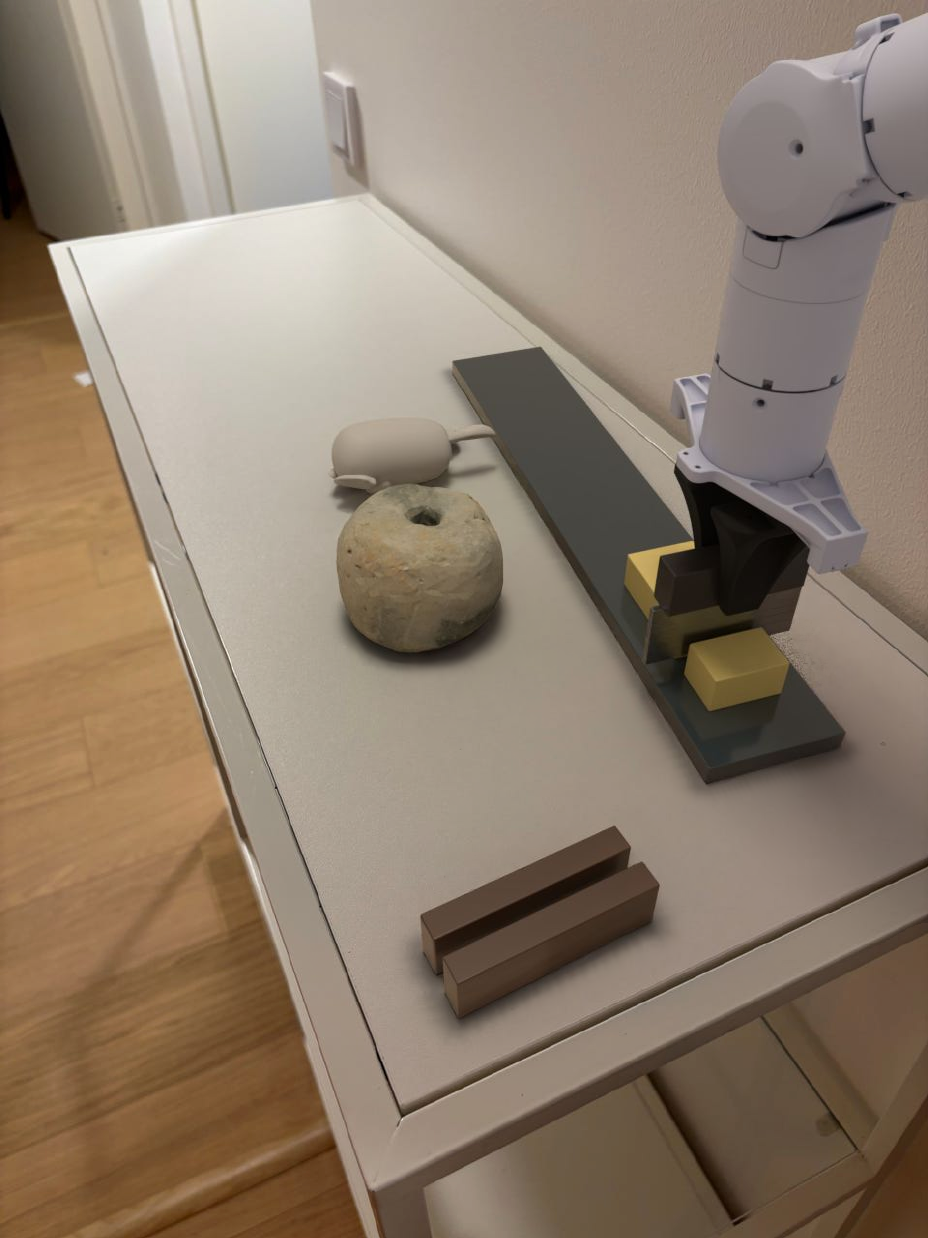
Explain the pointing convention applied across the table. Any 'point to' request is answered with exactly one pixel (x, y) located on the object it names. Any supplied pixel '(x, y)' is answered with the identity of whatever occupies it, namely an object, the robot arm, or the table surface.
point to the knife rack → (537, 919)
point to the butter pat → (736, 668)
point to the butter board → (626, 555)
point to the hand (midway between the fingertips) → (728, 594)
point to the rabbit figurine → (396, 452)
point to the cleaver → (711, 603)
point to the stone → (419, 567)
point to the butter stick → (648, 574)
